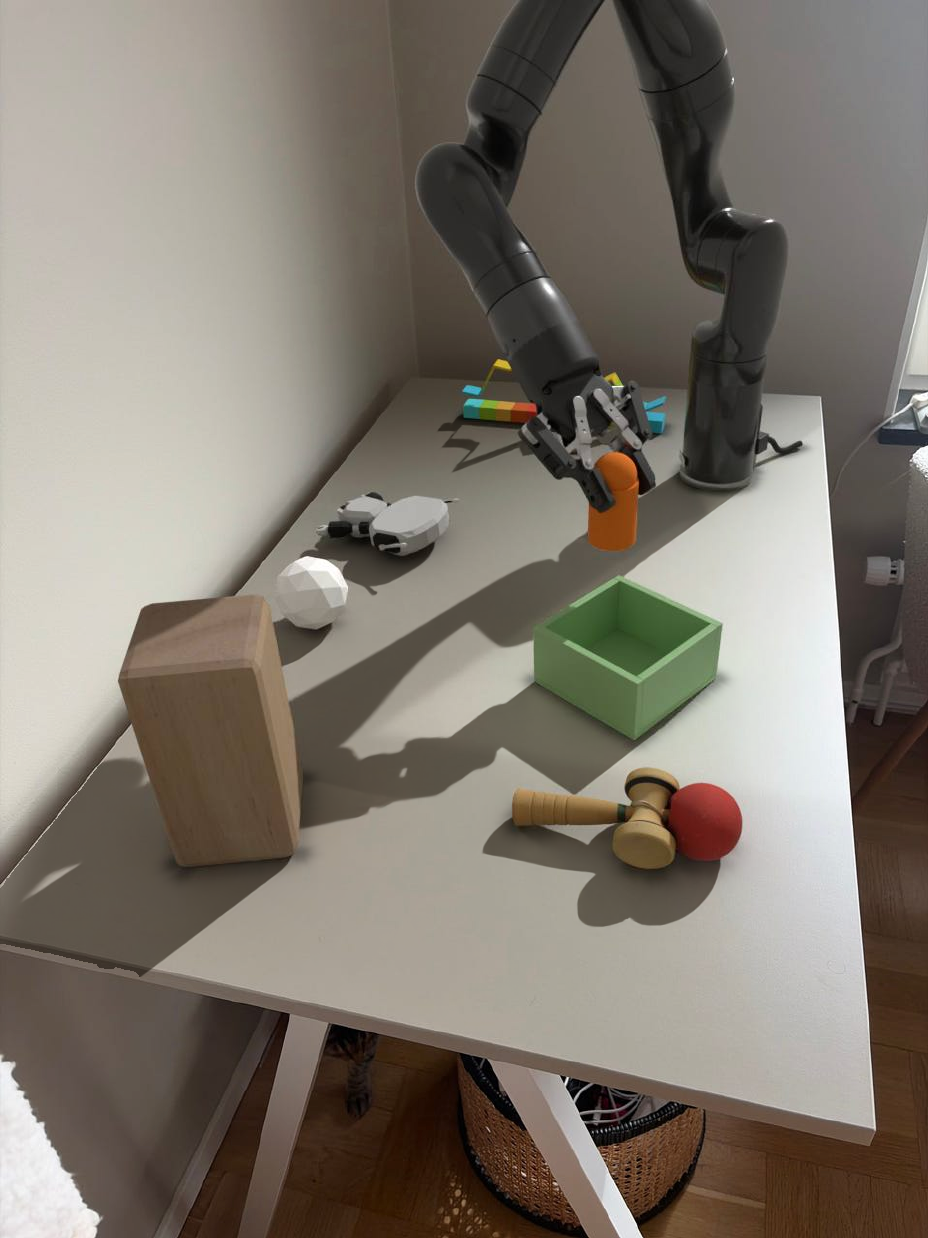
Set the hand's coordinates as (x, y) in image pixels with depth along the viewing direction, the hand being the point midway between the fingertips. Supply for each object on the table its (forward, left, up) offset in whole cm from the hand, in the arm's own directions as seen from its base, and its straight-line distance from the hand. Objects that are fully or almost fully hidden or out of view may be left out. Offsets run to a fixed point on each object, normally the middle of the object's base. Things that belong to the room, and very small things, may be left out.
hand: (628, 499), depth 90 cm
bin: (+4, +4, -17) cm, 18 cm away
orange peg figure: (0, -2, -5) cm, 5 cm away
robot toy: (+2, -35, -17) cm, 39 cm away
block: (+41, -7, -17) cm, 45 cm away
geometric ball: (+19, -27, -17) cm, 37 cm away
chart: (-38, -43, -17) cm, 60 cm away
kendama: (+20, +17, -17) cm, 31 cm away
